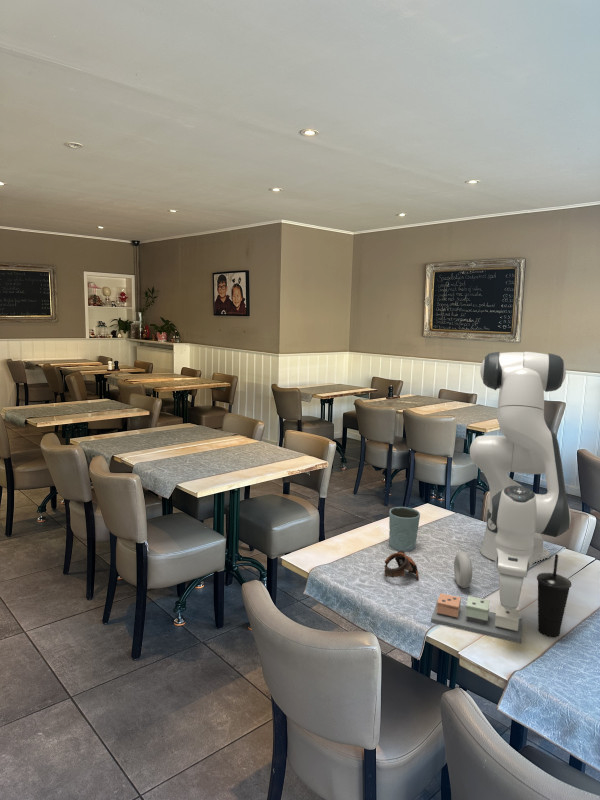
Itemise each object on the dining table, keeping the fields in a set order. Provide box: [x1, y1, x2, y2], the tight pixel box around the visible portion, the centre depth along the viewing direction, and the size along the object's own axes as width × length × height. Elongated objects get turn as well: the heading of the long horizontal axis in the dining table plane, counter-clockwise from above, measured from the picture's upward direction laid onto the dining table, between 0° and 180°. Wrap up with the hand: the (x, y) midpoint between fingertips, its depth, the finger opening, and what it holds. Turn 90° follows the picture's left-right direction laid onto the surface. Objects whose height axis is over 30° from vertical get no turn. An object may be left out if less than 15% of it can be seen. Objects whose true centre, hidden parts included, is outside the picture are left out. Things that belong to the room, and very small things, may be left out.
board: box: [430, 599, 523, 644], centre depth 139 cm, size 21×10×2 cm, turn 68°
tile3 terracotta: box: [436, 592, 462, 617], centre depth 142 cm, size 5×5×3 cm
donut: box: [453, 550, 473, 589], centre depth 158 cm, size 10×4×10 cm, turn 178°
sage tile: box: [465, 595, 491, 621], centre depth 139 cm, size 5×5×3 cm
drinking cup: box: [536, 553, 572, 639], centre depth 135 cm, size 8×8×20 cm
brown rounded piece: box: [383, 550, 420, 581], centre depth 163 cm, size 12×10×8 cm
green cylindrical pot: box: [388, 506, 421, 553], centre depth 184 cm, size 10×10×12 cm
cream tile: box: [495, 604, 520, 631], centre depth 136 cm, size 5×5×3 cm
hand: (508, 607), depth 136 cm, fingers closed
